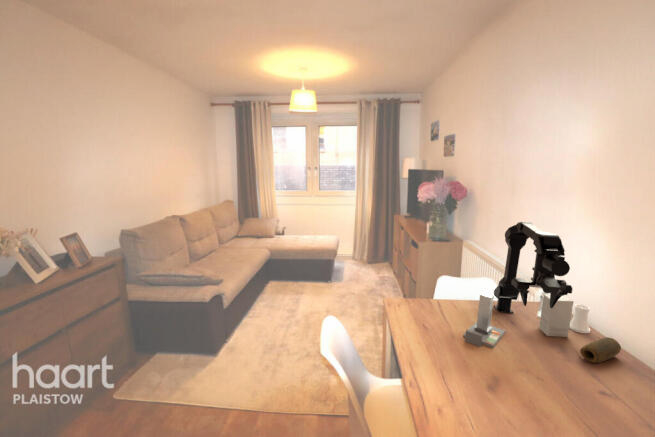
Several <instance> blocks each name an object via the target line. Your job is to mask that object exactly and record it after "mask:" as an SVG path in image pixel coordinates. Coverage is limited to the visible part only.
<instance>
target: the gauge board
mask: <svg viewBox="0 0 655 437" xmlns="http://www.w3.org/2000/svg"><path fill="white" fill-rule="evenodd" d="M476 325H477V321H475V323H473V324H472V325H471V326H470V327H469V328H468V329H466V330H465V332H464V333H463V334H462V335H463V336H462V338H464V342H465V343H469V344H471V345H474V346H477V347H479V348H481V347H482V345H483V346H486V347H489V348H491V349H494V348H495V346H496V345H497V344H498V343H499V341H500V340H501V339H502V337H503V336H504V335H505V334H506V329H503V328H499V327H496V326H493V325H492V324H490V327H492V330H491V331H490V332H489V334H488V335H487V334H484V333H481V332H478V331H476V330H474V329H475V326H476ZM492 331H495V332H498V333H500V335H497V334H494V333H492Z"/></svg>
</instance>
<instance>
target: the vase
mask: <svg viewBox="0 0 655 437" xmlns="http://www.w3.org/2000/svg"><path fill="white" fill-rule="evenodd" d="M590 309H591V308H590V307H589V306H587V305H584V304H580V303H578V304H574V313H573V315H572V316H573V317H571V320H570V327H569V330H571V331H573V332H577V333H579V334H580V333H581V334H591V328H590V326H589V320H588V319H589V316H588V315H589V312H590Z"/></svg>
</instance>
